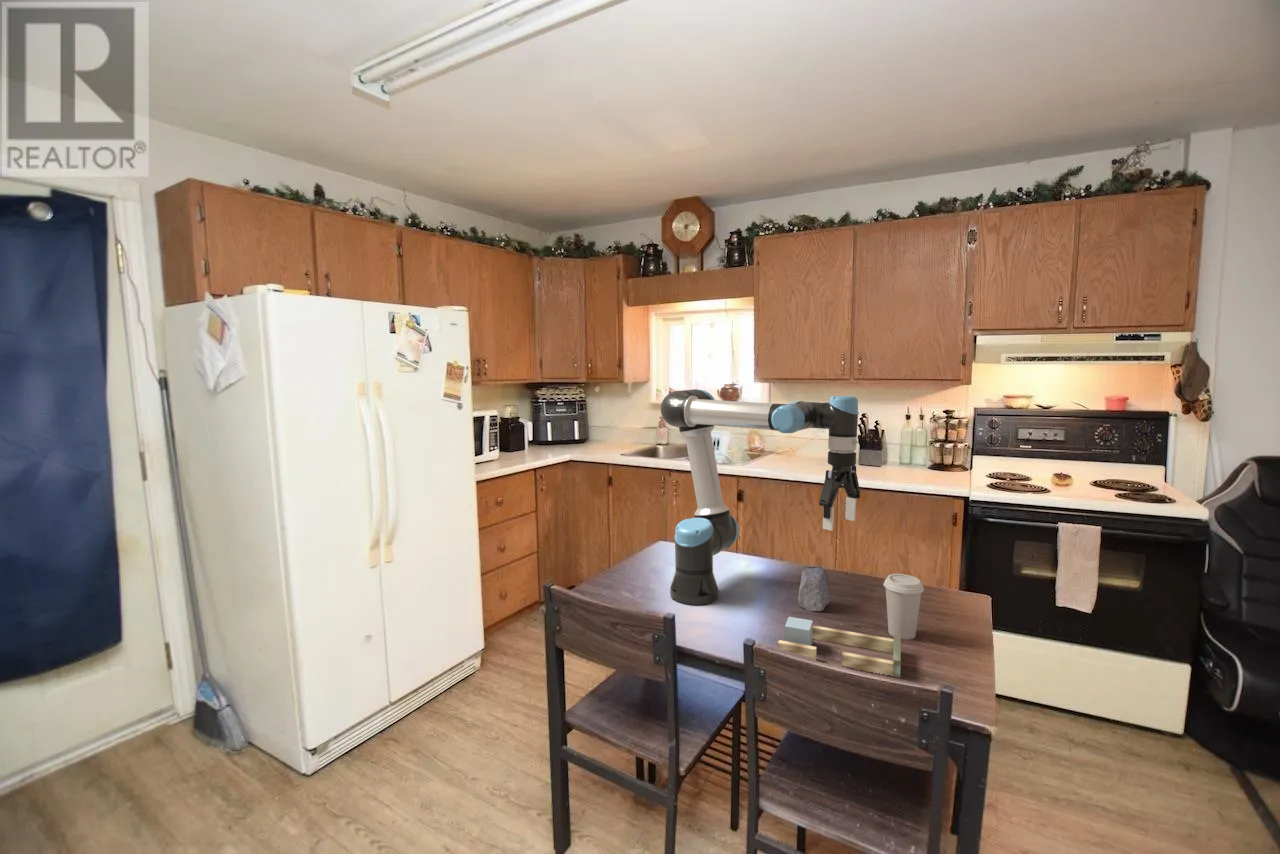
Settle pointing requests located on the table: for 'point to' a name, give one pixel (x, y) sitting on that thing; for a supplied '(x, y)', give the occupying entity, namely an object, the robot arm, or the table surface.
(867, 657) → the channel
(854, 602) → the table surface
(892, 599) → the coffee cup
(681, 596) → the robot arm
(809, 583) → the stone
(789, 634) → the block
